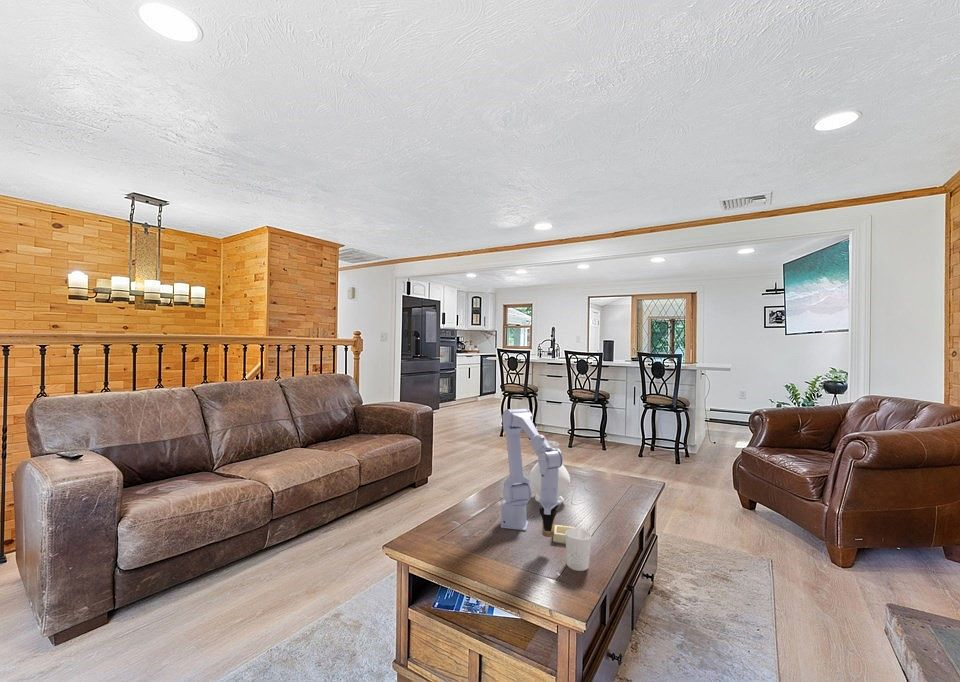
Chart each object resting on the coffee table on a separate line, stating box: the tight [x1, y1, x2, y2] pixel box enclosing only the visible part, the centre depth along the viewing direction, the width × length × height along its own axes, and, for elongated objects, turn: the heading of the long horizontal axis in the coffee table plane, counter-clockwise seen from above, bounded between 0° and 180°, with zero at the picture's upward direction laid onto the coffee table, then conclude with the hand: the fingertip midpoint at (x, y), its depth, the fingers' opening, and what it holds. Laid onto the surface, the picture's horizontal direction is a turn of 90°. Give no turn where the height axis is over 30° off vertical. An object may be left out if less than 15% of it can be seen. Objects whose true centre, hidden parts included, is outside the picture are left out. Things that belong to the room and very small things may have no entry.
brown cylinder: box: [541, 516, 556, 538], centre depth 143 cm, size 4×4×7 cm
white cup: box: [565, 527, 592, 572], centre depth 135 cm, size 8×8×10 cm
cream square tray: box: [552, 524, 576, 545], centre depth 153 cm, size 8×8×3 cm
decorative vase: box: [528, 440, 571, 504], centre depth 190 cm, size 18×18×25 cm
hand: (548, 527), depth 143 cm, fingers closed on brown cylinder, 4 cm apart
